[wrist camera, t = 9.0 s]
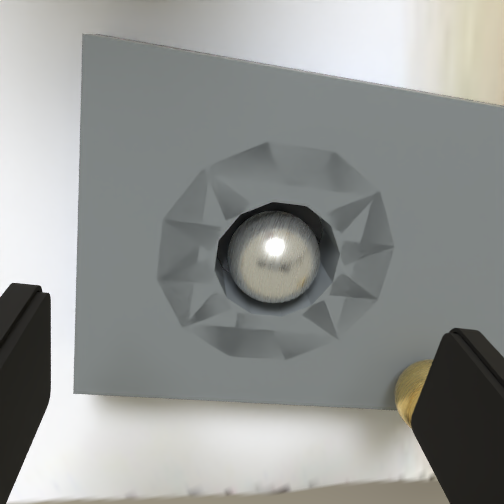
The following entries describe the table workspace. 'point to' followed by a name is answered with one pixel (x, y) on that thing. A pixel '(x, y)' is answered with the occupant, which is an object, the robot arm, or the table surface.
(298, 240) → the ball
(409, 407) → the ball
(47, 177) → the table surface
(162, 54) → the hole board
